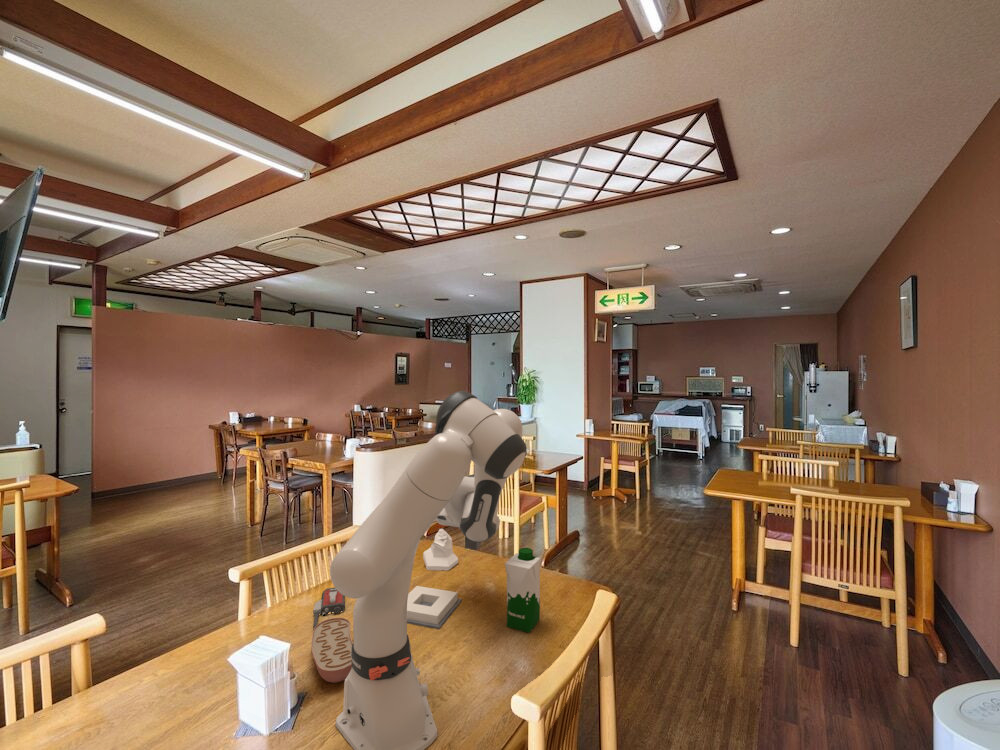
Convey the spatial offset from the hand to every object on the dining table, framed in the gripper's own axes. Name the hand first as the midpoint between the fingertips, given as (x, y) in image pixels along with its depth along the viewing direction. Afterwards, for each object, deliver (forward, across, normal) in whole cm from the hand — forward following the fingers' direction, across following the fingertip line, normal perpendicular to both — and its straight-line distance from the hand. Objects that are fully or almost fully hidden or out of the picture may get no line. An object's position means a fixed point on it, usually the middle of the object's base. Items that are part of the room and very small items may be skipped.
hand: (473, 529), depth 150 cm
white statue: (+24, +18, +4) cm, 30 cm away
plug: (+3, 0, +4) cm, 5 cm away
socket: (+2, +9, +25) cm, 27 cm away
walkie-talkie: (-4, +36, +32) cm, 49 cm away
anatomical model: (-18, +20, +46) cm, 53 cm away
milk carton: (+3, -21, +24) cm, 32 cm away
